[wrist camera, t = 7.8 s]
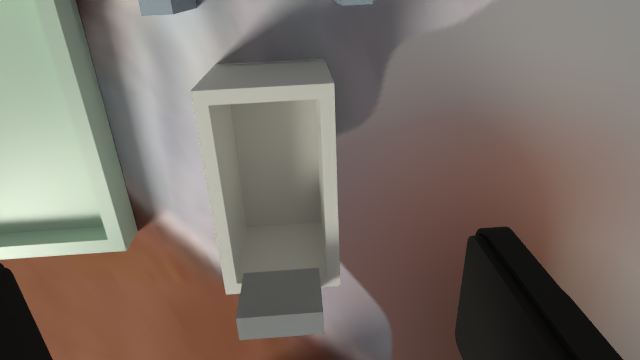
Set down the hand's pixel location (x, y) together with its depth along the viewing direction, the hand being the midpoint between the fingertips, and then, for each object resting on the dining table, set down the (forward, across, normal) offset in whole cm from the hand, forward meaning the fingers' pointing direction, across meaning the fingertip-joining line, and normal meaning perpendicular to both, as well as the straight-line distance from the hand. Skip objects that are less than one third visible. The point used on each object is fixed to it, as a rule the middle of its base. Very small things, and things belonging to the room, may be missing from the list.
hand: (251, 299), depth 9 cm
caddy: (+15, 0, +3) cm, 16 cm away
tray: (+15, +14, 0) cm, 21 cm away
